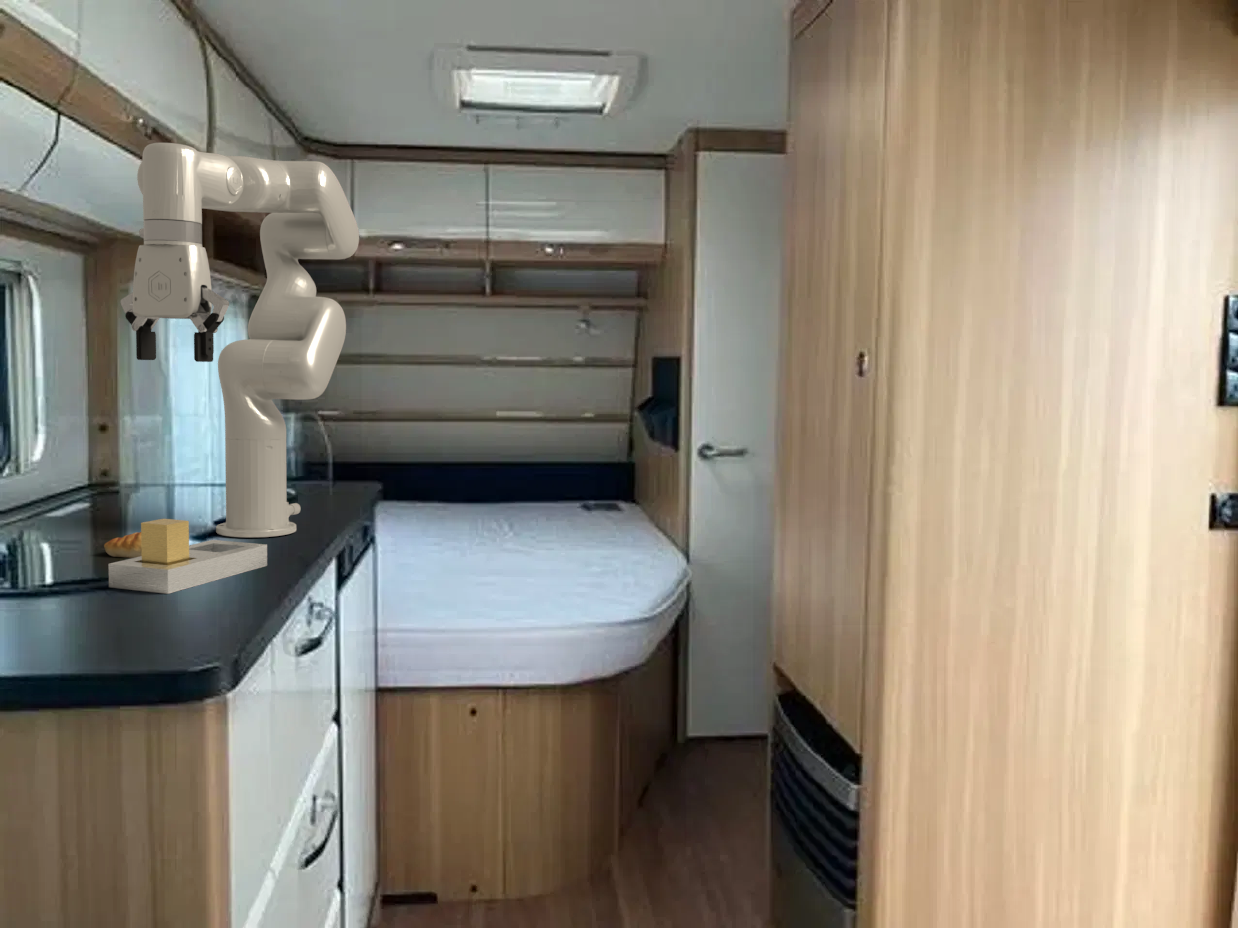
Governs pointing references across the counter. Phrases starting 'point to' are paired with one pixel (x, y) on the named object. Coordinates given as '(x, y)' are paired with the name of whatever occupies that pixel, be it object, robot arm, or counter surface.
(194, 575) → the board with square holes
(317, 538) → the counter surface
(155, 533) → the wooden block
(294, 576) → the counter surface
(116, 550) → the pastry
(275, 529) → the robot arm
